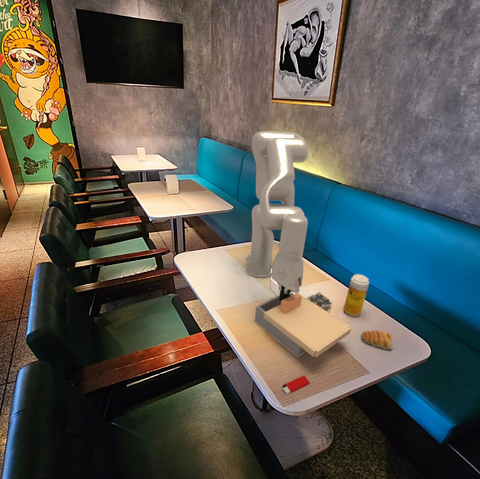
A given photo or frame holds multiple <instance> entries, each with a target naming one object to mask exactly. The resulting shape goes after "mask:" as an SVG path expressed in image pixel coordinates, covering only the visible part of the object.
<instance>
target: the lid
mask: <svg viewBox="0 0 480 479" xmlns="http://www.w3.org/2000/svg"><path fill="white" fill-rule="evenodd" d="M306 298H307V297H305V296H303V295H302V294H300V293H299V292H298V293H293V295H292V296H290V297H288V298H286V299H284V300H282V301H281V305H278V306H276V307H274V308H272V309H270V310H268V311H266V312H264V318H265V319H266V320H267V321H269V322H270V323H271V324H273V325H274V326H275V327H276V328H278V329H279V330H280V331H281V332H283V333H284V334H285V335H286V336H288V337H289V338H290V339H291V340H293V341H294V342H295V343H297V344H298V345H299V346H300V347H302V348H303V349H304V350H305V351H307V352H306V353H308V354H309V355H311V356H312V357H313V358H314V357H316V358H318V357H320V355H322V354H323V353H325V352H326V351H328V350H329V349H330V348H332V347H333V346H334V345H336V344H337V343H339V342H340V341H342V340H343V339H344V338H346V337H347V336H348V335H350V334H351V330H352V328H351V326H350V325H349V324H347V323H345V322H344V321H342V320H341V319H339V318H338V317H336V316H334V315H333V314H331V313H330V312H328V311H327V310H326V309H322V308H320V307H319V306H317V305H316V303H313V302H311V301H309V300H308V299H306Z"/></svg>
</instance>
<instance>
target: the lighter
mask: <svg viewBox="0 0 480 479" xmlns="http://www.w3.org/2000/svg"><path fill="white" fill-rule="evenodd" d="M309 385H310V380H309V379H308V378H307V377H306V375H302V376H300V377H297V378H295V379H292V380H290V381H289V382H285V383H284V384H282V391H283V392H284V394H285V395H286V396H288V395H289V394H292V393H294V392H296V391H298V390H300V389H302V388H305V387H306V386H309Z"/></svg>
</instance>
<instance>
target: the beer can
mask: <svg viewBox="0 0 480 479" xmlns="http://www.w3.org/2000/svg"><path fill="white" fill-rule="evenodd" d="M369 285H370V281H369V278H368V277H367V276H365V275H363V274H358V273H356V274H353V276H352V277H351V279H350V283H349V286H348V290H347V294H346V297H345V301H344V304H343V305H344V306H343V310H344V312H345V314H346V315H348V316H350V317H358V316H360V315H361V314H362V309H363V307H364V306H363V305H364V303H365V299H366V296H367V292H368V288H369Z"/></svg>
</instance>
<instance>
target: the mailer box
mask: <svg viewBox="0 0 480 479" xmlns="http://www.w3.org/2000/svg"><path fill="white" fill-rule="evenodd" d="M292 295H294V293H291V292H290V296H292ZM279 296H280V294H279V295H277V296H275V297H273V298H270V299H269V300H266V301H265V302H262V303H260V304H258V305H256V306H255V313H254V323H256V324H257V325H258V326H259V327H261V328H262V329H263V330H264V331H266V332H267V333H268V334H269V335H270V336H272V337H273V339H275V340H276V341H278V342H279V343H280V344H281V345H282V346H284V347H285V348H286V349H287V350H288V351H290V352H291V353H292V354H293V355H294V356H295V357H296V358H299V357H301V356H303V355H304V354H305V353H308V352H307V351H305V350H304V349H303V348H302V347H300V346H299V345H298V344H297V343H295V342H294V341H293V340H291V339H290V338H289V337H288V336H286V335H285V334H284V333H283V332H281V331H280V330H279V329H278V328H276V327H275V326H274V325H273V324H271V323H270V322H269V321H267V320H266V319H265V318H264V312H266V311H268V310H270V309H272V308H274V307H276V306H278V305H281V301H279ZM290 296H289V297H290Z"/></svg>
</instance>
